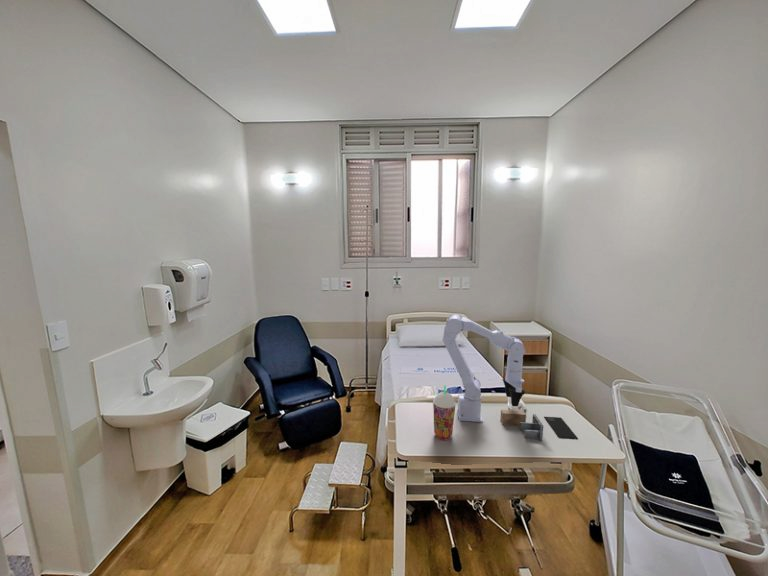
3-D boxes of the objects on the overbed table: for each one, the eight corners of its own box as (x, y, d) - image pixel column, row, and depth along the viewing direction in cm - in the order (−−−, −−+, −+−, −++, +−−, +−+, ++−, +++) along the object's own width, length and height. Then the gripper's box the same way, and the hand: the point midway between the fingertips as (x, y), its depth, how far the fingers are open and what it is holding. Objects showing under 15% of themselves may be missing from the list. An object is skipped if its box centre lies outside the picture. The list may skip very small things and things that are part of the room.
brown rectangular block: (502, 424, 128) (502, 413, 127) (500, 420, 131) (501, 409, 130) (525, 426, 127) (526, 414, 126) (522, 422, 130) (523, 410, 129)
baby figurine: (518, 417, 134) (507, 399, 135) (506, 413, 145) (495, 397, 147) (534, 406, 135) (523, 388, 137) (520, 403, 147) (510, 387, 149)
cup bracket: (525, 439, 118) (526, 424, 117) (518, 427, 126) (519, 413, 125) (542, 440, 117) (543, 425, 117) (534, 428, 125) (535, 414, 124)
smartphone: (579, 440, 118) (560, 418, 133) (579, 438, 118) (561, 416, 133) (558, 439, 119) (542, 417, 134) (558, 437, 119) (542, 415, 134)
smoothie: (428, 436, 119) (429, 386, 117) (438, 426, 126) (440, 379, 123) (448, 445, 114) (450, 393, 112) (458, 434, 121) (460, 385, 118)
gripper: (531, 377, 119) (528, 410, 121) (518, 362, 133) (516, 393, 135) (511, 376, 119) (509, 409, 121) (501, 362, 134) (499, 392, 136)
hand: (511, 401), depth 128 cm, fingers open, 7 cm apart
